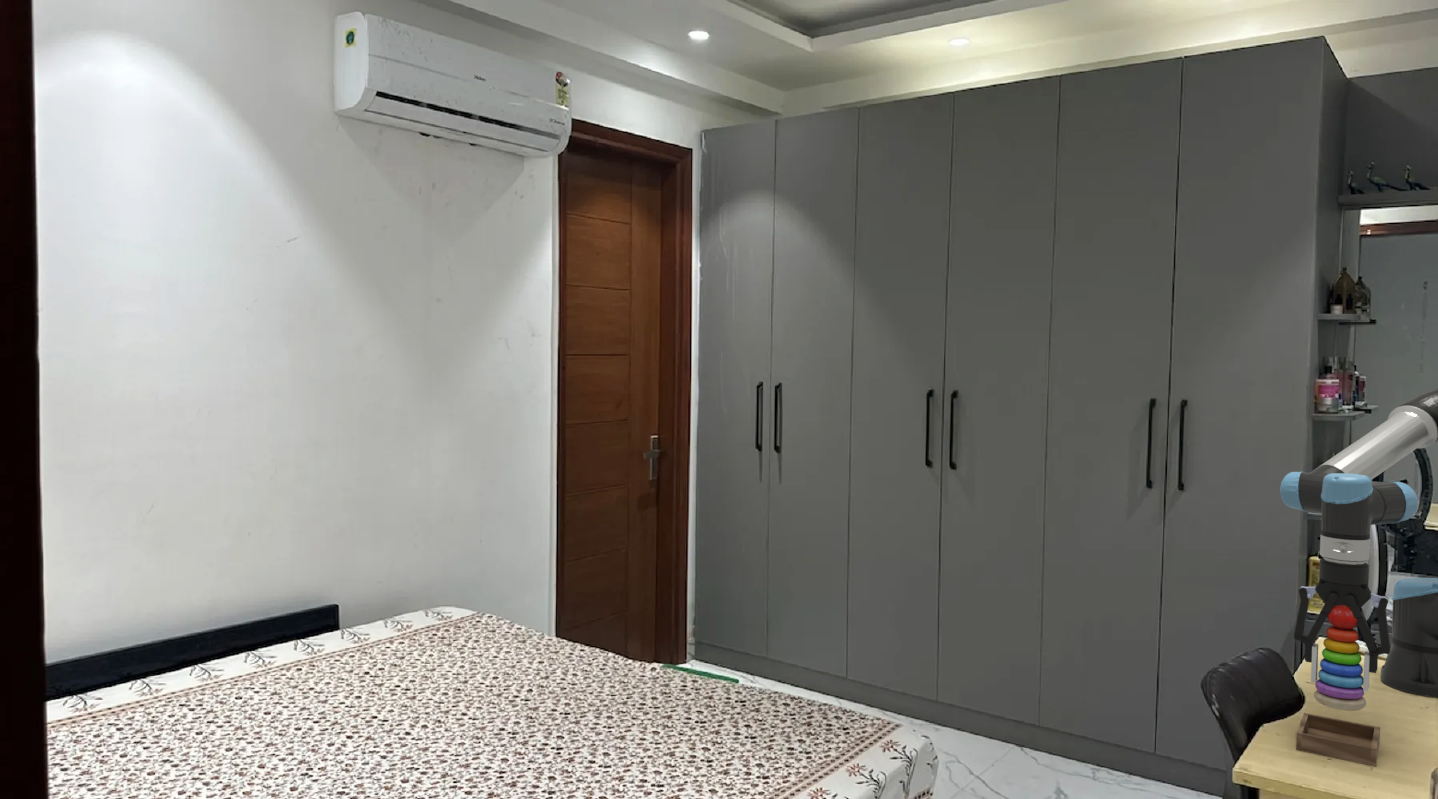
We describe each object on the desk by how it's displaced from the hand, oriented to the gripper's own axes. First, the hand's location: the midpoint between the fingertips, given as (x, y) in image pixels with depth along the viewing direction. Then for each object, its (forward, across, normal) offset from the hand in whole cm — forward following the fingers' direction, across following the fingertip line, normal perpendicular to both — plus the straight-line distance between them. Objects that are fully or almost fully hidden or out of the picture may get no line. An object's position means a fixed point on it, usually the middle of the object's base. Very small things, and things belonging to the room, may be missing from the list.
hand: (1339, 684), depth 177 cm
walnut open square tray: (+12, 0, 0) cm, 12 cm away
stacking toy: (+4, 0, 0) cm, 4 cm away
